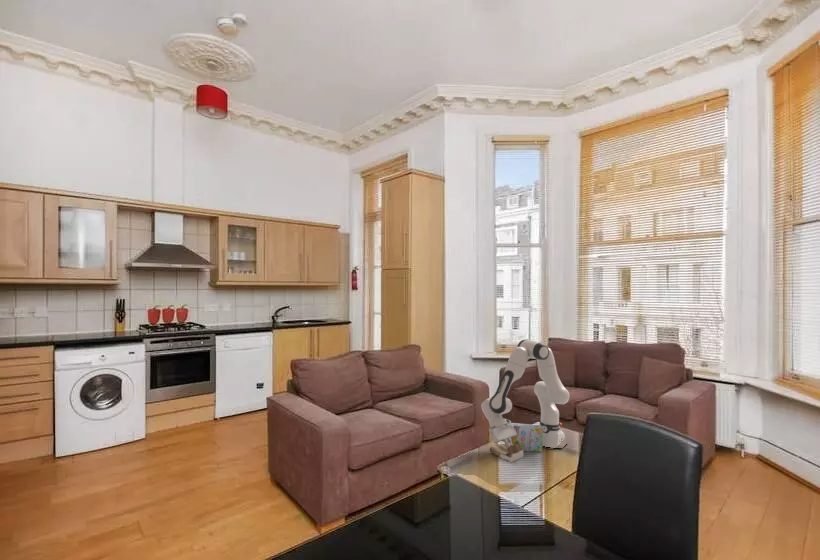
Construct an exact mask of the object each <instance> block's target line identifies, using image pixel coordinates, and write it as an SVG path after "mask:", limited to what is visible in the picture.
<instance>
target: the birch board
mask: <svg viewBox="0 0 820 560" xmlns="http://www.w3.org/2000/svg"><path fill="white" fill-rule="evenodd" d="M507 448H509V447H508V446H507V445H506V444H505V443H503V442H502V443H499V444H498V443H497V444H496V445H493V446H490V447H489V452H491V453H490V454H492V453H493V454H492V455H495V456H496V457H499V458H501V457H500V453H502V454H504V455H505V454H508V453H509V452H508V450H507Z"/></svg>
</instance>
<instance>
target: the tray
mask: <svg viewBox="0 0 820 560" xmlns="http://www.w3.org/2000/svg"><path fill="white" fill-rule="evenodd" d="M499 458H502V459H503V460H506V461H508V462H510V463H512V462H514V461H517V460H520V459H522V458H524V451H523V450H522V451H519V452H517V453H514V454H512V455H510V454H509V453H508V454H505V455H504V454H502V453H500V457H499Z"/></svg>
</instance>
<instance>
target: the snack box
mask: <svg viewBox="0 0 820 560" xmlns="http://www.w3.org/2000/svg"><path fill="white" fill-rule="evenodd" d="M510 424H512V425H513V427H514V428H515V430H516V432H517V435H516V436H515V437H513V438H511V441H512V444H513V445H516V444H518V443H520V445H521V447H522V449H523V452H524V451H527V452H538V453H542V452H543V446H542V439H543V427H542V426H541V425H540V424H530V423H529V424H528V423H516V422H511V423H510Z"/></svg>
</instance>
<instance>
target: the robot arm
mask: <svg viewBox="0 0 820 560" xmlns="http://www.w3.org/2000/svg"><path fill="white" fill-rule="evenodd" d="M530 359H535V360H536V365H537V370H538V375H539V378H540V379H541V381H537V382H536V383H535V384H534V386H533V391H534V392H533V393H534V394H535V395H536V397H537V399H538V402H539V406H540V421H539V425H541V426H542V427H543V439H542V447H543V446H545V447H544V448H546V447H557V446H558V445H559V444H560V443H561V442H562V441H563V440H564V438H565V439H566V435H565V433H564V432H563V431H562V430H561V427H562V423H561V422H560V411H559V409H558V408H557V406H556V404H558V405H566V404H567V403H568V402H569V400H570V396H571V395H570V392H569V390H568V389H567V388H566V387H565V386H564V384H563V383H562V381H561V379H560V376H559V375H558V369H557V365H556V360H555V356H554V354H553V351H552V349H551V348H550V347H549V346H547V345H546V343H543V342H540V341H537V340H531V339H522V340H520V341H519V342H518V344H517V346H516V347H514V348H513V350H512V351H511V353H510V355H509V358H508V360H507V364H506V366H505V369H504V372H503V375H502V377H501V379H500V381H499V384H498V386H497V389H496V390H495V391H496V392H495V393H494V394H493V395H492V397H488V398H486V399H484V400H483V401H482V402H481V405H480V408H481V410H482V412H483V415H484V416H485V418H486V419H487V420H488V424H489V425H490V426H489V428H488V431H489V435H490V437H491V440H492V441H493V443H494V444H498V443H500V442H502V443H503V444H505V445H507V446H508V447H511V446H513V444H512V441H511V438H513V437H515V436H516V435H517V432H516V430H515V428H514V427H513V425H512V424H510V423H512V421H511V420H510V419H507V418H504V417H503V415H505V414H508V413H509V412H511V411H512V408H513V403H512V400H511V399H510V398H508V397H507V395H508V393H509V391H510V388H511V386H512V384H513V383H514V382H515V381H518V380H520V379H521V378H522V376H523V375H524V373H525V371H526V367H527V364H528V363H527V362H528V360H530Z"/></svg>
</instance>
